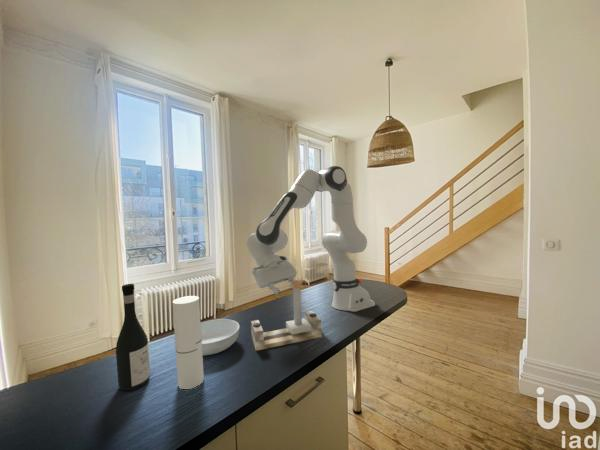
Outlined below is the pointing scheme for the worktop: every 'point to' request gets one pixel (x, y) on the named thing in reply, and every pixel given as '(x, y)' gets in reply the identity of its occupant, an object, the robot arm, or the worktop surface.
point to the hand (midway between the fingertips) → (286, 290)
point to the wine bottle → (131, 347)
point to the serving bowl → (218, 335)
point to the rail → (284, 333)
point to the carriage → (297, 312)
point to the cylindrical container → (188, 341)
